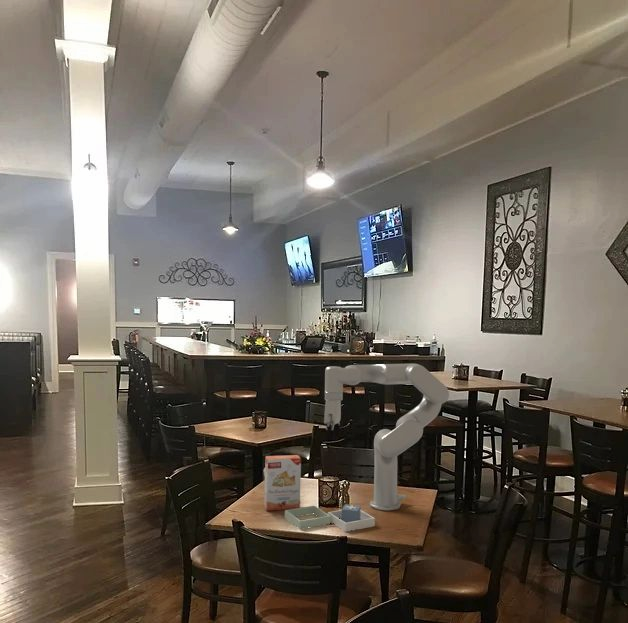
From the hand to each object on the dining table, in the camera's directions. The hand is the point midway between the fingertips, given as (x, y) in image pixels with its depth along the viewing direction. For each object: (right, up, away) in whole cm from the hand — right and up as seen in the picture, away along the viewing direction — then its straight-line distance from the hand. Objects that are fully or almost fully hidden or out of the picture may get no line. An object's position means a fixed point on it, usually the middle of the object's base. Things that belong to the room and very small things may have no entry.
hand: (332, 437), depth 230 cm
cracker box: (-21, -28, -5) cm, 35 cm away
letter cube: (+6, -28, -20) cm, 35 cm away
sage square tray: (-10, -28, -19) cm, 35 cm away
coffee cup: (-25, -28, +10) cm, 39 cm away
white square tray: (+6, -28, -20) cm, 35 cm away
